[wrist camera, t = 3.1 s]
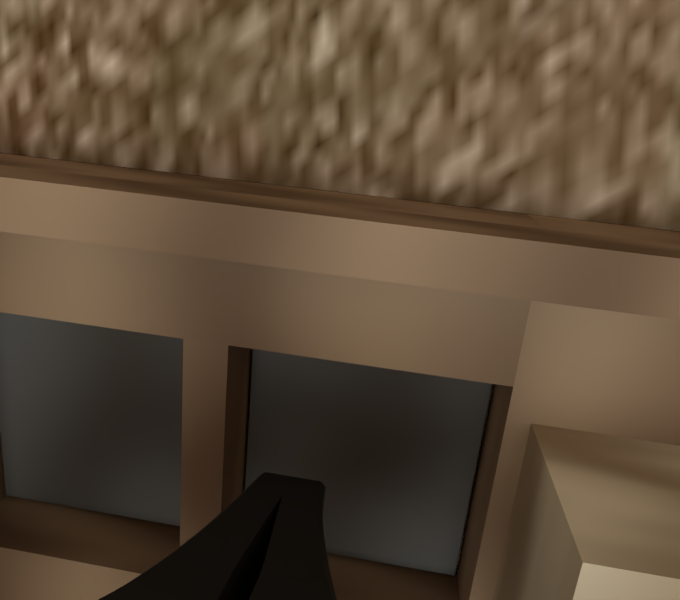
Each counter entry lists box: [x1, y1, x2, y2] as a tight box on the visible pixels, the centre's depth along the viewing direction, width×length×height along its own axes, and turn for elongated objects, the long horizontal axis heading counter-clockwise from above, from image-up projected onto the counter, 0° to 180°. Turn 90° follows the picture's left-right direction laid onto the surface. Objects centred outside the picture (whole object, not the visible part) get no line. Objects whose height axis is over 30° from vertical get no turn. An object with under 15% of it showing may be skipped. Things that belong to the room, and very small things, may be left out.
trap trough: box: [0, 153, 680, 600], centre depth 13 cm, size 28×13×4 cm, turn 84°
